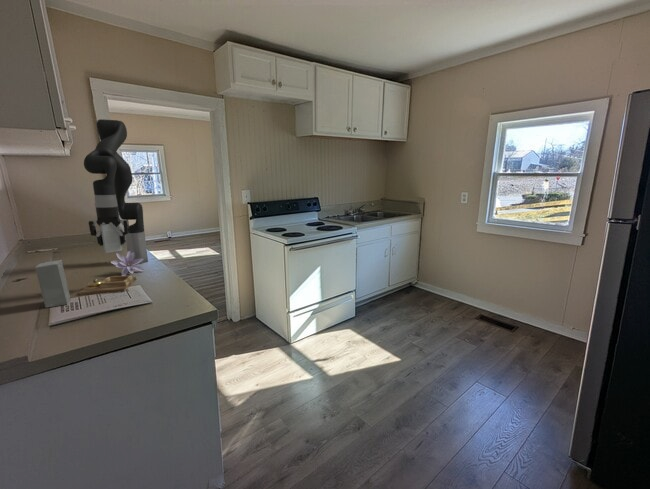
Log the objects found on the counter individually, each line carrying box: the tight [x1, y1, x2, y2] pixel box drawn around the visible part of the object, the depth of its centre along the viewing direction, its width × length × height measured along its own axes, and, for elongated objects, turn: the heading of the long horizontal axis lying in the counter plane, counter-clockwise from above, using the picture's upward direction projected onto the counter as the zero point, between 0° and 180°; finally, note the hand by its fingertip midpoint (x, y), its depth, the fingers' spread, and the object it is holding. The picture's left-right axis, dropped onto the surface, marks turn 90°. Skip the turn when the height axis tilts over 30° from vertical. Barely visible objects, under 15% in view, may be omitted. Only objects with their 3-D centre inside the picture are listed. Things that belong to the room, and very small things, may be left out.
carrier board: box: [78, 274, 137, 296], centre depth 131 cm, size 16×16×3 cm
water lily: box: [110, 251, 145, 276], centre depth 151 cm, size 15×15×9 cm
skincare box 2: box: [99, 224, 123, 254], centre depth 128 cm, size 6×4×12 cm
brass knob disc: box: [87, 278, 102, 287], centre depth 130 cm, size 5×5×2 cm
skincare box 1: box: [34, 259, 71, 308], centre depth 113 cm, size 8×7×16 cm
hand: (112, 244), depth 129 cm, fingers closed on skincare box 2, 7 cm apart
